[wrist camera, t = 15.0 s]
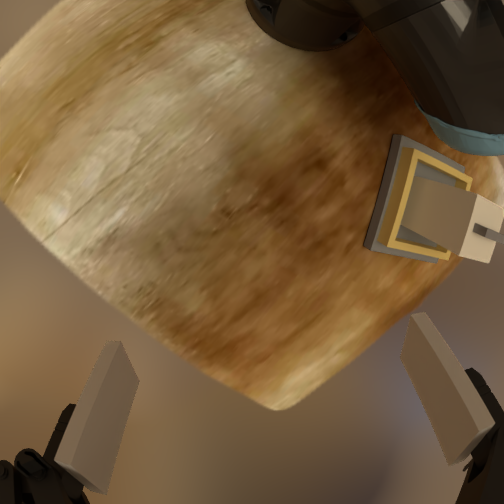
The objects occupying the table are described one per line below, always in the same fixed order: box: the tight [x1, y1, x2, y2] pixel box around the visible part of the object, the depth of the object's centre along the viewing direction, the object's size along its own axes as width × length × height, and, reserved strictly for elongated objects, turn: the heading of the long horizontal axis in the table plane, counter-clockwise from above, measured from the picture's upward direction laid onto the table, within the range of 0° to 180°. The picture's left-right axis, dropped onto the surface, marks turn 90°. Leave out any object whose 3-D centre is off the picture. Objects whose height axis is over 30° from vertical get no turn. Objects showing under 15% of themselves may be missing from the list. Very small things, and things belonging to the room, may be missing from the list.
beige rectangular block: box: [400, 176, 504, 263], centre depth 32 cm, size 7×7×14 cm
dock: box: [364, 134, 473, 264], centre depth 38 cm, size 16×14×4 cm
